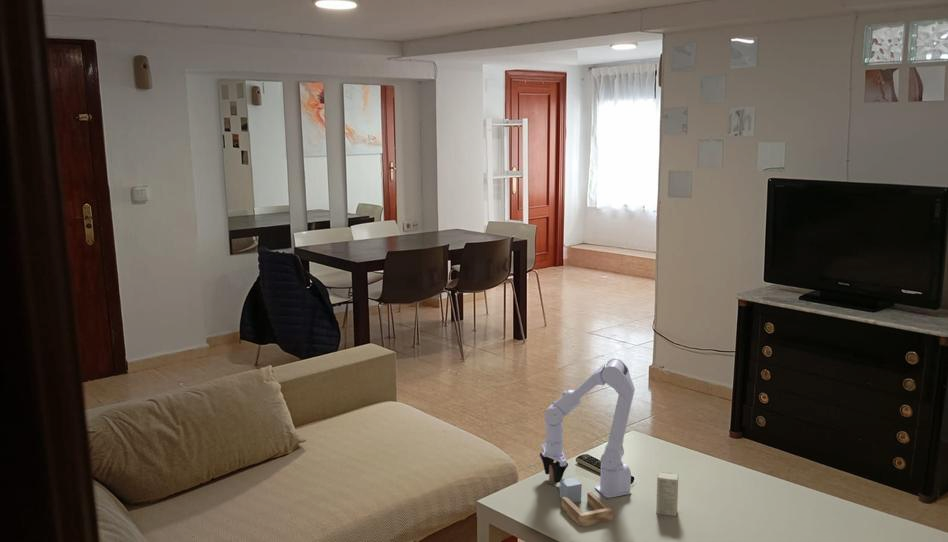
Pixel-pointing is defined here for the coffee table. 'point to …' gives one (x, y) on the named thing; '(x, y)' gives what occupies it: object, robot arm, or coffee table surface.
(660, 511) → the skincare box
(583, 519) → the two-pronged wooden block
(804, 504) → the coffee table surface
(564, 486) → the block with pull
